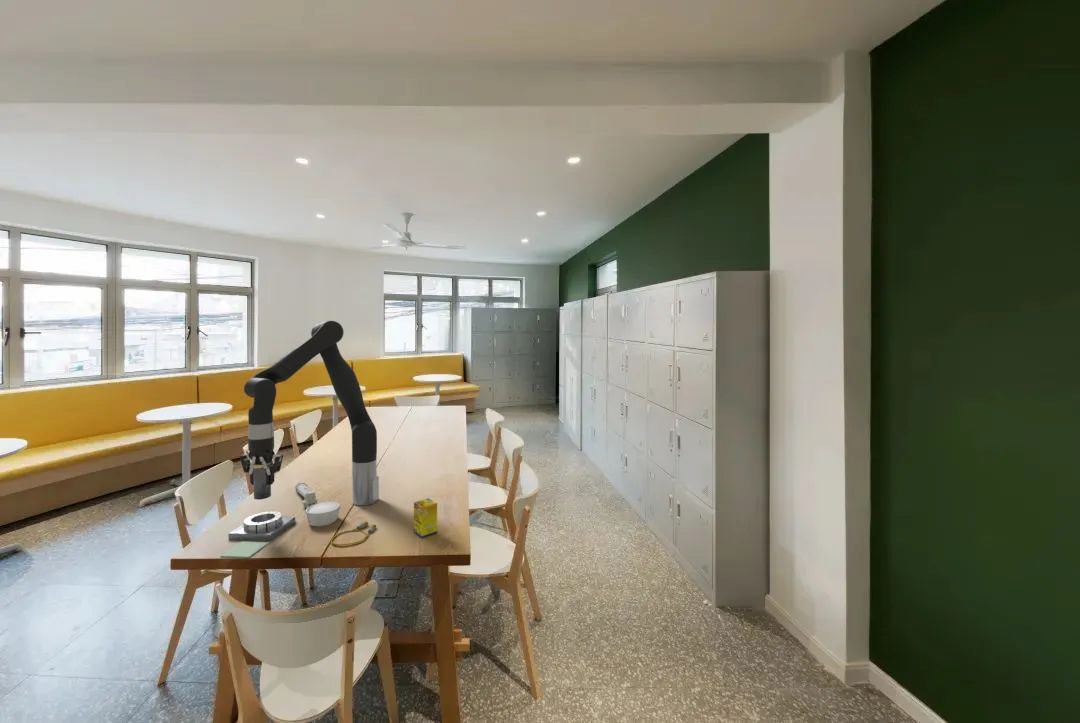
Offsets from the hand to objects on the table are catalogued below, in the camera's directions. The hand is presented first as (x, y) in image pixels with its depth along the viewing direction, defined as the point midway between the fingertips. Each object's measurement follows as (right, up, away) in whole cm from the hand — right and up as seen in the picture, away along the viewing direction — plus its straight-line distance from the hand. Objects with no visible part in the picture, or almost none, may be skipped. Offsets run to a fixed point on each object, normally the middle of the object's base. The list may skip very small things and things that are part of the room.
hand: (262, 484), depth 147 cm
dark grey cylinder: (0, -4, 0) cm, 4 cm away
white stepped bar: (-1, -15, +29) cm, 33 cm away
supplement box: (+56, -17, +1) cm, 59 cm away
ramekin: (+17, -16, +9) cm, 25 cm away
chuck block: (0, -16, +1) cm, 16 cm away
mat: (+3, -17, -13) cm, 22 cm away
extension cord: (+33, -18, -2) cm, 38 cm away
